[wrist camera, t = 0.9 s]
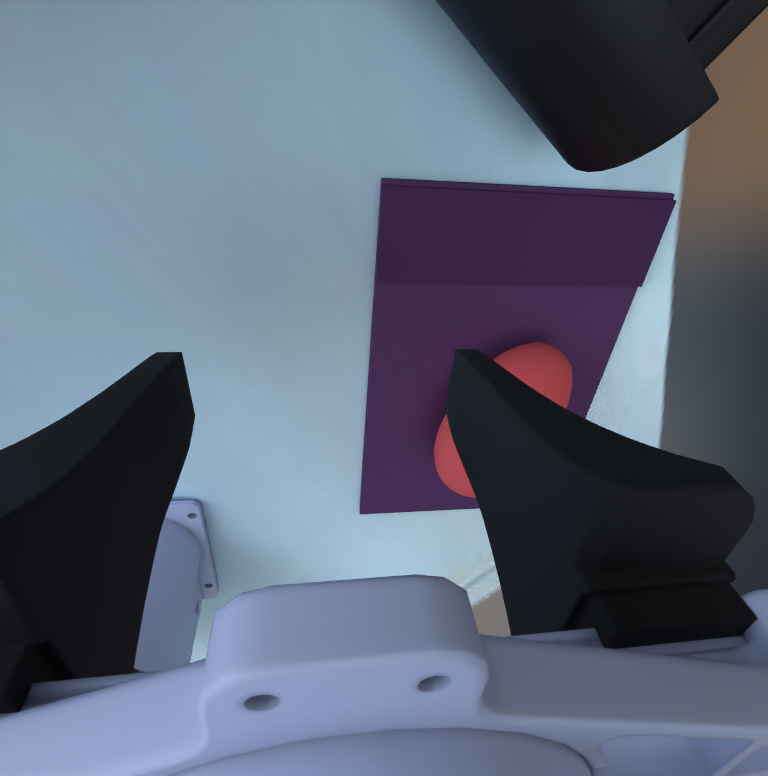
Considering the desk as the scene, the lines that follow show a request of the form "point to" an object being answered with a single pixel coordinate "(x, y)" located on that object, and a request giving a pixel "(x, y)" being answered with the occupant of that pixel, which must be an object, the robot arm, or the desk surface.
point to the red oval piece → (533, 367)
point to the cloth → (489, 305)
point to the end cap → (605, 66)
